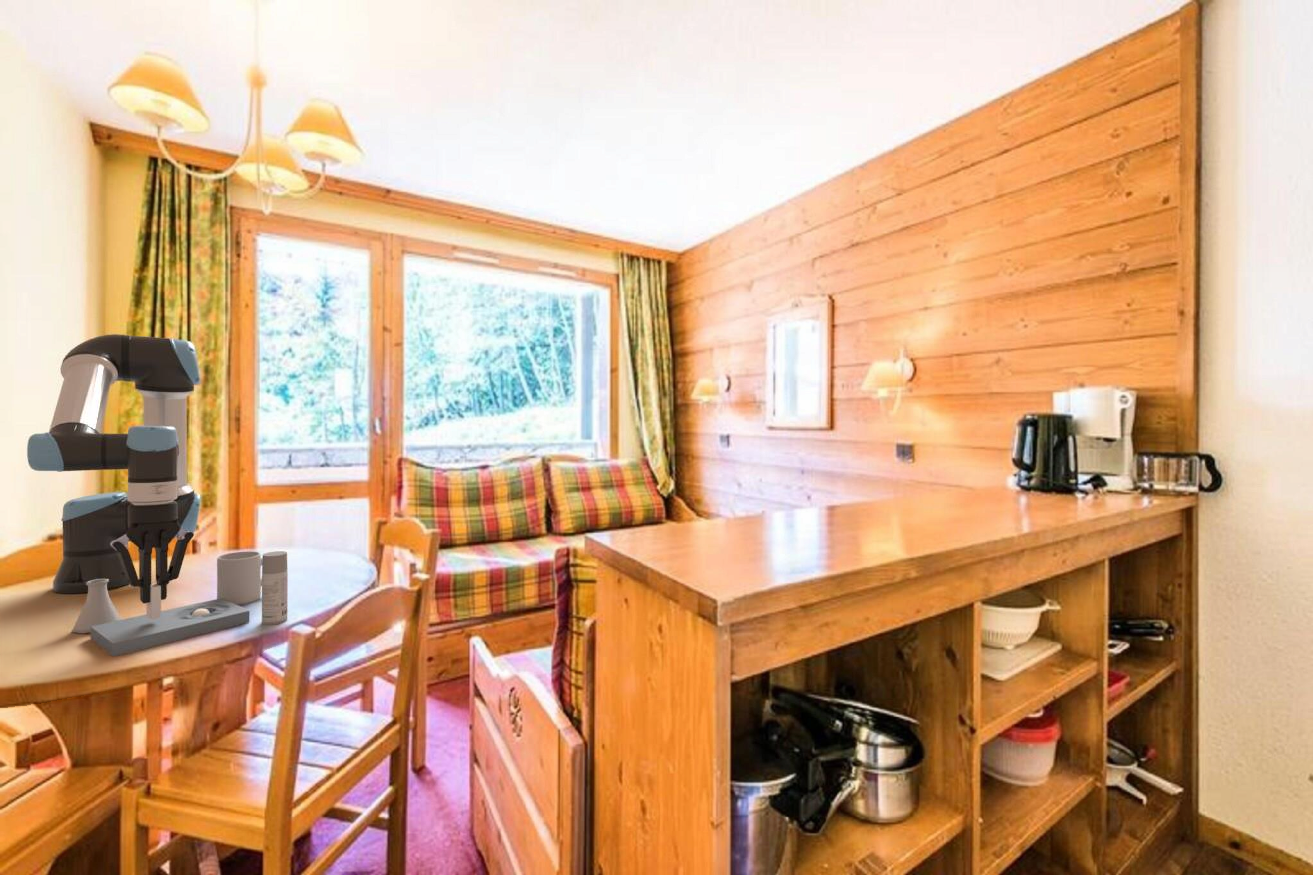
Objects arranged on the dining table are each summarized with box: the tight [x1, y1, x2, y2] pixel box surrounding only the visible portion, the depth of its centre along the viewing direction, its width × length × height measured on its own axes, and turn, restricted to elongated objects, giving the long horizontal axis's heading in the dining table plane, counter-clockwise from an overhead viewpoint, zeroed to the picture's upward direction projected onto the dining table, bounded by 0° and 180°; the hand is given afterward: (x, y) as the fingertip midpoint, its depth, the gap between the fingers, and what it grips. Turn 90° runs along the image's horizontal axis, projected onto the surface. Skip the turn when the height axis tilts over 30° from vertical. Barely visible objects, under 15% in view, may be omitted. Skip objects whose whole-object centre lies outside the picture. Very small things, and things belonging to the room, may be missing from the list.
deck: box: [90, 598, 250, 658], centre depth 117 cm, size 14×22×2 cm, turn 147°
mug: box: [216, 550, 263, 606], centre depth 137 cm, size 12×8×11 cm
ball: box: [192, 609, 210, 615], centre depth 121 cm, size 3×3×3 cm
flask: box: [71, 579, 123, 634], centre depth 117 cm, size 7×7×10 cm
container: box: [261, 550, 289, 626], centre depth 123 cm, size 5×5×15 cm
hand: (153, 616), depth 114 cm, fingers closed
